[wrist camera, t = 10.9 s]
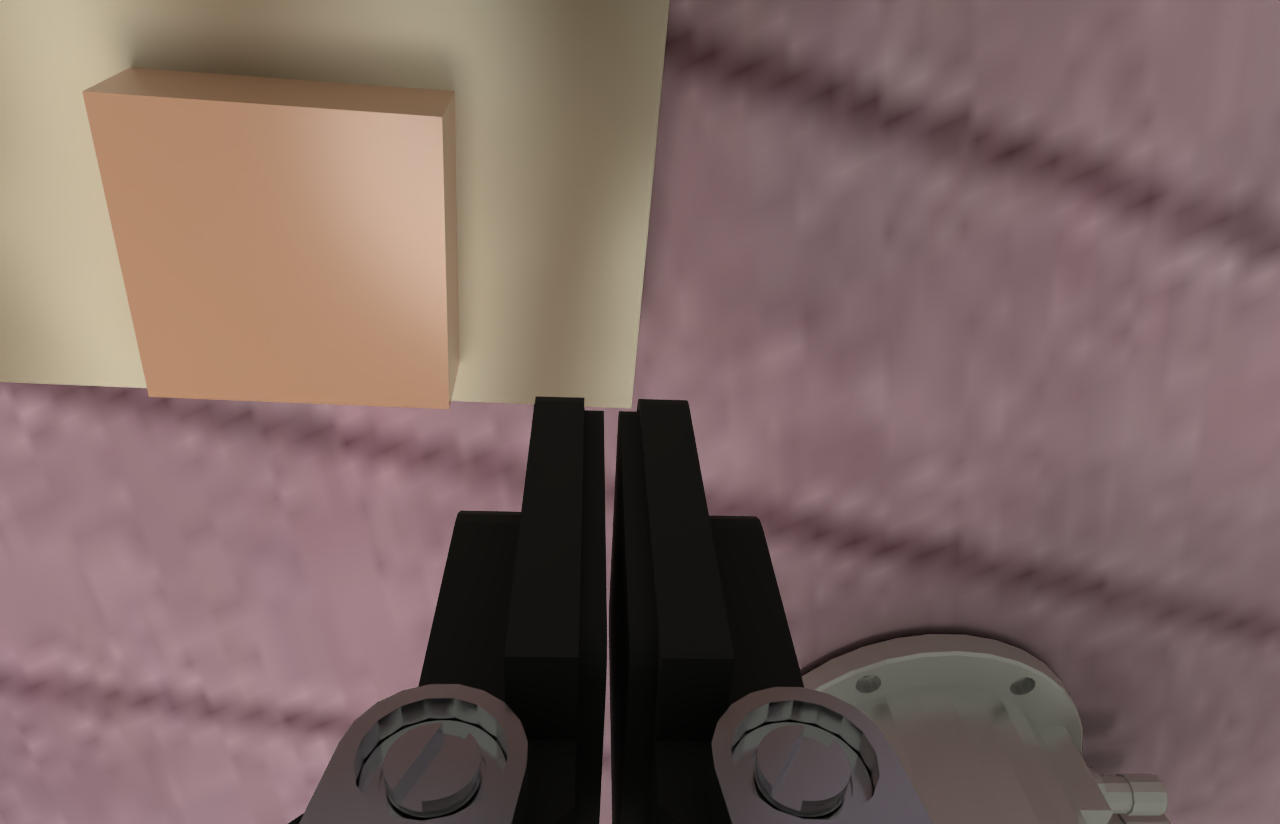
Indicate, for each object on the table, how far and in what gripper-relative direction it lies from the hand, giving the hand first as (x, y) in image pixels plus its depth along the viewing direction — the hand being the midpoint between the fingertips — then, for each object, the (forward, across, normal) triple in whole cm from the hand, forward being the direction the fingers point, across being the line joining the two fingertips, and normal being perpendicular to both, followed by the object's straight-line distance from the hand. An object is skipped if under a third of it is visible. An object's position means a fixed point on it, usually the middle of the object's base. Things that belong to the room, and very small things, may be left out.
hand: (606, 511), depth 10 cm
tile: (+9, +6, 0) cm, 11 cm away
